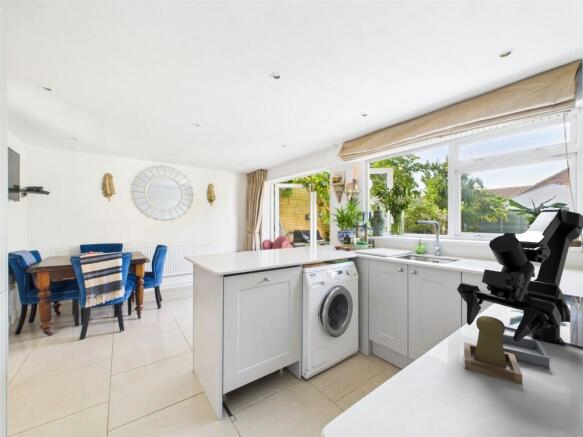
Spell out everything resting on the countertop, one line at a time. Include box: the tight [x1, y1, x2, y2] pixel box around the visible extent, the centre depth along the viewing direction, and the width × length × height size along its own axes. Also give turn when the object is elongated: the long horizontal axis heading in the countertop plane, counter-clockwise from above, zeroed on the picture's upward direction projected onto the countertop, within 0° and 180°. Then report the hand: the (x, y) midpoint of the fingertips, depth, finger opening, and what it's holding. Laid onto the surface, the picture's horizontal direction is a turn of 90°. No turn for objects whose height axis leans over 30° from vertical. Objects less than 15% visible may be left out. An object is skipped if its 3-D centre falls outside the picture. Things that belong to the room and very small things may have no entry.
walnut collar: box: [463, 342, 523, 386], centre depth 58 cm, size 10×10×2 cm
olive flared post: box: [473, 315, 508, 369], centre depth 58 cm, size 6×6×11 cm
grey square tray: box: [502, 333, 551, 370], centre depth 63 cm, size 10×10×2 cm
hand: (489, 331), depth 58 cm, fingers open, 9 cm apart
